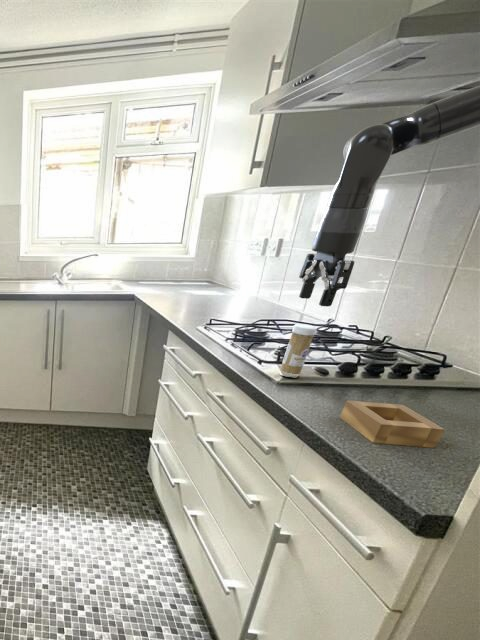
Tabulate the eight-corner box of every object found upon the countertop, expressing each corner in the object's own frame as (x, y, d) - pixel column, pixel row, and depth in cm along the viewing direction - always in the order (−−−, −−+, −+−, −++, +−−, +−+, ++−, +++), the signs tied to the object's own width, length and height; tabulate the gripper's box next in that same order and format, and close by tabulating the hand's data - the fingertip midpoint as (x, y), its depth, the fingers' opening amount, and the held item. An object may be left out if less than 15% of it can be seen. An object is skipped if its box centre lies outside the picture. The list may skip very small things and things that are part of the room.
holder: (394, 421, 85) (402, 404, 84) (434, 448, 76) (445, 429, 75) (339, 417, 87) (346, 400, 85) (372, 442, 78) (381, 424, 76)
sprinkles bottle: (294, 380, 105) (312, 329, 99) (274, 374, 108) (290, 324, 103) (302, 377, 107) (320, 326, 101) (283, 371, 110) (299, 322, 105)
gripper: (380, 232, 86) (351, 309, 93) (338, 228, 99) (314, 296, 105) (340, 232, 87) (313, 308, 94) (303, 227, 100) (281, 295, 107)
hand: (314, 301), depth 100 cm, fingers open, 8 cm apart
